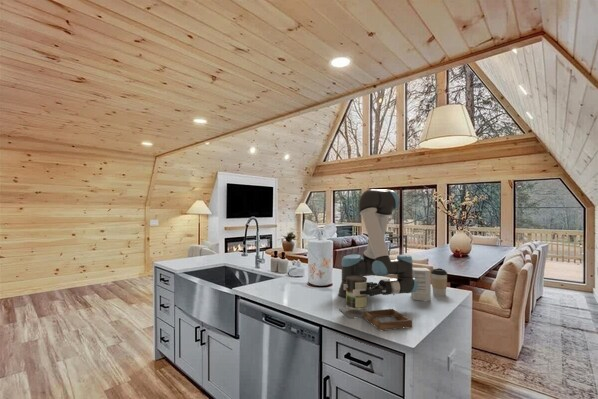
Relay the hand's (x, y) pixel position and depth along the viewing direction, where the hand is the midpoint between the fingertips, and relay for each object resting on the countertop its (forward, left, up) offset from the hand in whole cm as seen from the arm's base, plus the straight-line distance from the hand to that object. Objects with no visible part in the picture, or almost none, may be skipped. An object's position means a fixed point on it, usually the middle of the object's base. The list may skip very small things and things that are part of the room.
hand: (348, 289), depth 149 cm
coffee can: (0, +4, -9) cm, 10 cm away
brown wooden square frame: (+15, +12, -12) cm, 22 cm away
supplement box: (-13, +51, -12) cm, 54 cm away
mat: (0, +4, -12) cm, 12 cm away
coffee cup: (-17, +67, -12) cm, 70 cm away
